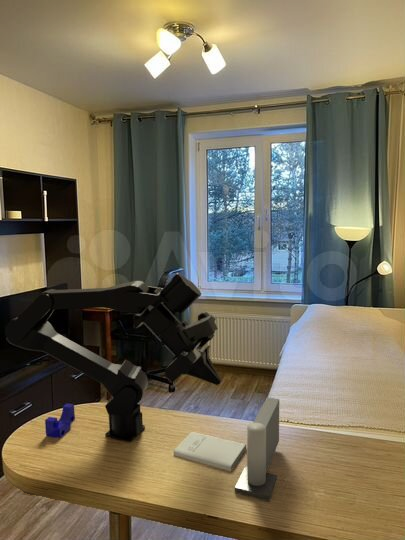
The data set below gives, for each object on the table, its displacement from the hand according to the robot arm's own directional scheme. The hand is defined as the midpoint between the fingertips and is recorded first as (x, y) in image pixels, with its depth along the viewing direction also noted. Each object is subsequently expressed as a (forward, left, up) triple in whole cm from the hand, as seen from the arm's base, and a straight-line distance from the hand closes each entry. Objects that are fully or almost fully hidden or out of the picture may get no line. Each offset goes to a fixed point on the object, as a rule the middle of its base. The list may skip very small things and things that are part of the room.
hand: (219, 383), depth 84 cm
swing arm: (+11, -6, -11) cm, 17 cm away
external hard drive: (-1, -4, -13) cm, 14 cm away
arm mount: (+11, -11, -13) cm, 20 cm away
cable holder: (-35, -8, -13) cm, 38 cm away
